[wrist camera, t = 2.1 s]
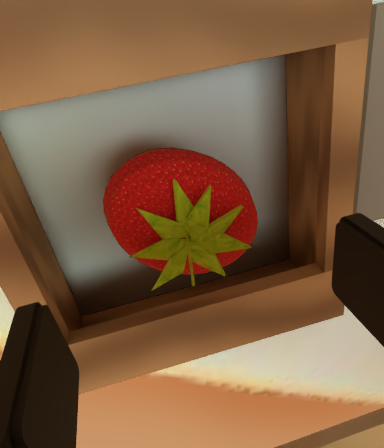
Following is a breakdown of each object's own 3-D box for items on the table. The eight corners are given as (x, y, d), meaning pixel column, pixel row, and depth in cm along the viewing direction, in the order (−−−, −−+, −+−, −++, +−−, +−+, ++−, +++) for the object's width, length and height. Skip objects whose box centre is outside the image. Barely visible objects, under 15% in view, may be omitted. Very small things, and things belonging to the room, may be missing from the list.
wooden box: (301, 266, 27) (343, 314, 22) (72, 330, 25) (64, 398, 20) (303, -53, 17) (380, -89, 12) (-80, 9, 15) (-168, -6, 10)
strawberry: (200, 231, 23) (255, 343, 15) (89, 198, 20) (78, 312, 12) (239, 152, 21) (331, 228, 13) (122, 103, 18) (138, 157, 10)
